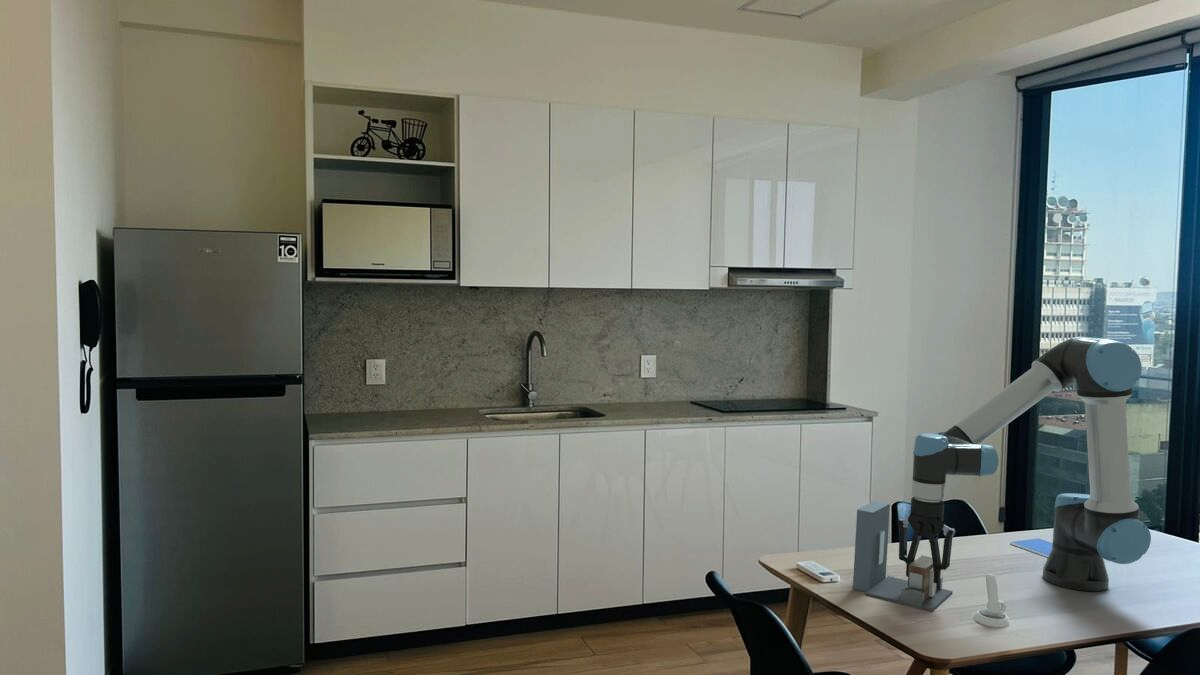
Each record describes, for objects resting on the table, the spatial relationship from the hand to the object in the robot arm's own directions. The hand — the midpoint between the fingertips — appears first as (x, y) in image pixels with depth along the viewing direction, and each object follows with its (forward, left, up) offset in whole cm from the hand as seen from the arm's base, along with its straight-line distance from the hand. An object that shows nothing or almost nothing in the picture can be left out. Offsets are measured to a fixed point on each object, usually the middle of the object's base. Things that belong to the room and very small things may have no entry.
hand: (922, 592), depth 214 cm
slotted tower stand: (+5, 0, -1) cm, 5 cm away
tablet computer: (-17, -65, -2) cm, 67 cm away
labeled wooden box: (0, 0, 0) cm, 0 cm away
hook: (-17, +4, -1) cm, 18 cm away
